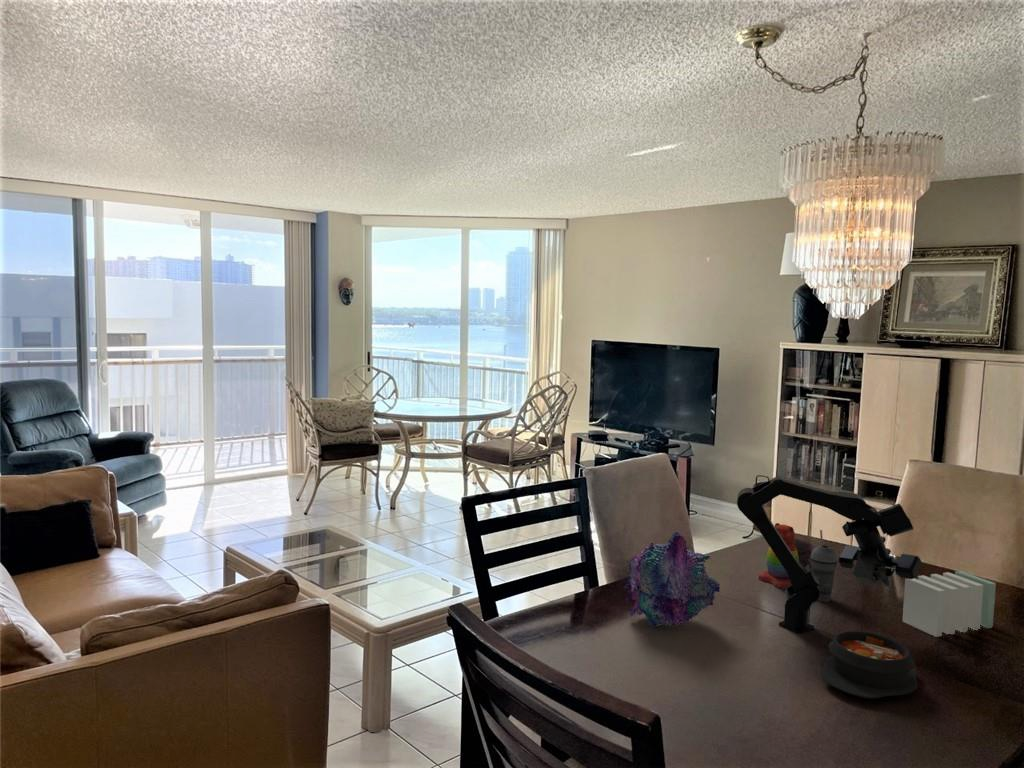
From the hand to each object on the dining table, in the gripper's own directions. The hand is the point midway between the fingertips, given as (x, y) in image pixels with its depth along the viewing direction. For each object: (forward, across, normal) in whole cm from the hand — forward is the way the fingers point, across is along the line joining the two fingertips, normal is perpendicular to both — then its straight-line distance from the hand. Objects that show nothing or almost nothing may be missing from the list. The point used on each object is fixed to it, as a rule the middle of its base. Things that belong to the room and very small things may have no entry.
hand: (888, 584), depth 183 cm
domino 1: (+15, +4, 0) cm, 15 cm away
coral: (-18, -35, -42) cm, 58 cm away
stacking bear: (+11, -37, +2) cm, 38 cm away
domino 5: (+25, +9, +14) cm, 30 cm away
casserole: (-7, +10, -34) cm, 36 cm away
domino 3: (+20, +7, +7) cm, 22 cm away
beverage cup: (+11, -22, -1) cm, 25 cm away
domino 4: (+22, +8, +10) cm, 26 cm away
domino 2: (+17, +5, +3) cm, 18 cm away
